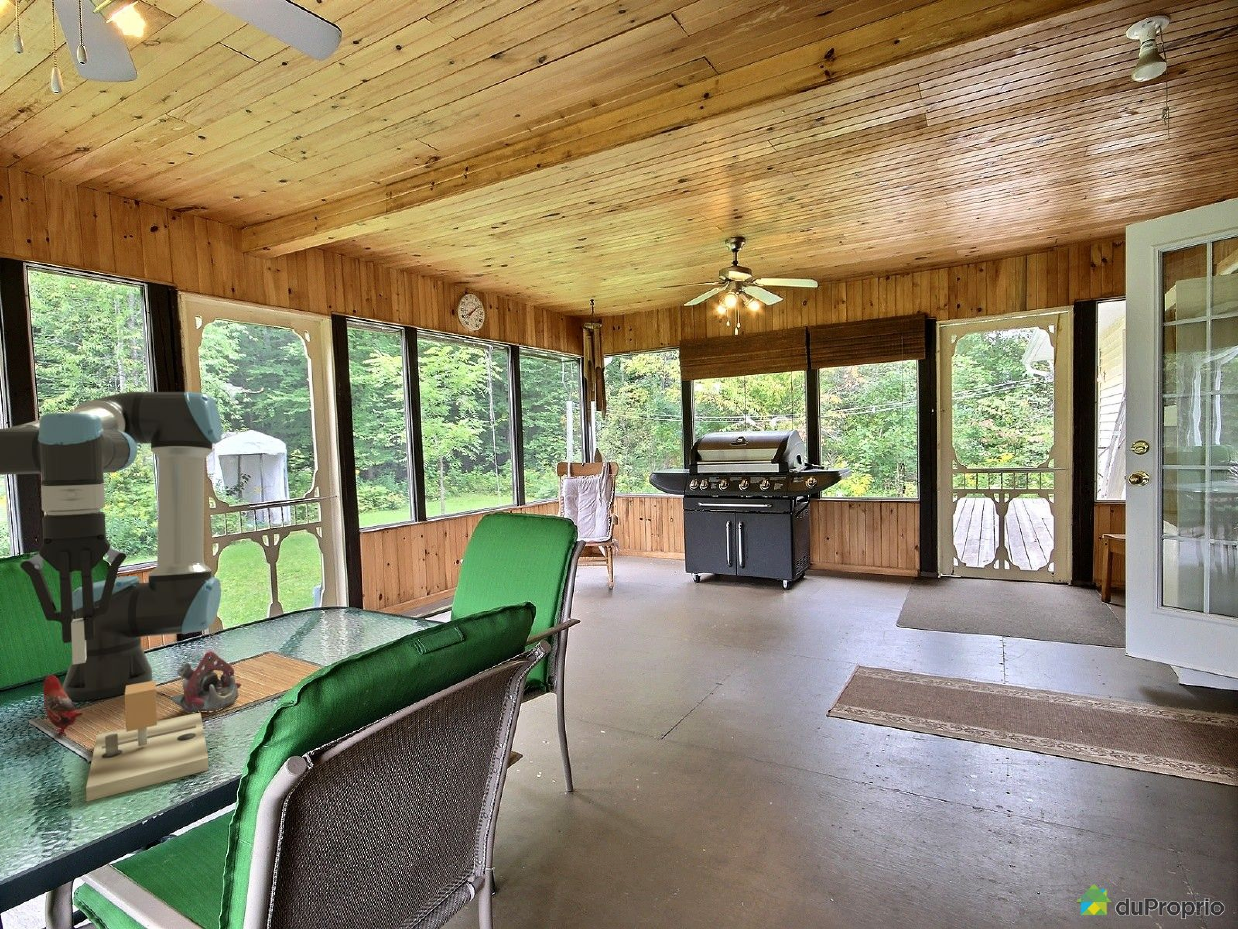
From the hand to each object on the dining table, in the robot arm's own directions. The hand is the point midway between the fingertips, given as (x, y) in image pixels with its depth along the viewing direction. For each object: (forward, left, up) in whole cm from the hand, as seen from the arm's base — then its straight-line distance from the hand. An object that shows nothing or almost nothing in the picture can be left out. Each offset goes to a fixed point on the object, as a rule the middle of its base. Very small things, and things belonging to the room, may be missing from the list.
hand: (79, 661), depth 101 cm
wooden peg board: (0, +9, -18) cm, 20 cm away
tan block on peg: (0, +8, -16) cm, 17 cm away
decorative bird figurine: (-19, -4, -18) cm, 27 cm away
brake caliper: (-20, +18, -18) cm, 32 cm away
